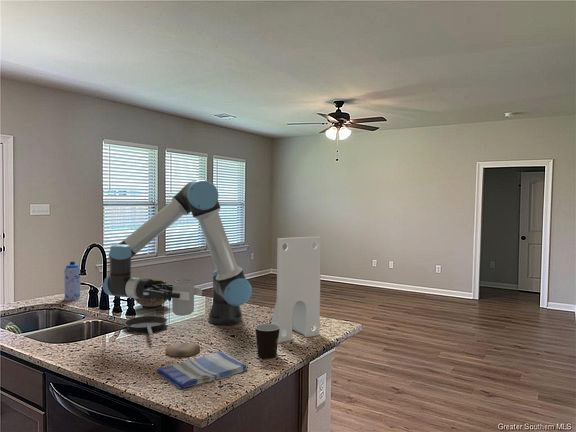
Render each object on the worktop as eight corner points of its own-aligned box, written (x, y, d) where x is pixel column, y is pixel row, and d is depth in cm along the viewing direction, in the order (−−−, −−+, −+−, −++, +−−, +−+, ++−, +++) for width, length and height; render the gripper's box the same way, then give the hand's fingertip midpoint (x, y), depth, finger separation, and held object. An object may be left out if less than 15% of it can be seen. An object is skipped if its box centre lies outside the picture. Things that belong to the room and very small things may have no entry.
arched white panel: (299, 325, 184) (301, 234, 183) (319, 334, 172) (321, 236, 171) (259, 332, 173) (260, 235, 172) (277, 342, 161) (278, 238, 160)
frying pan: (165, 319, 191) (165, 311, 190) (175, 341, 161) (175, 332, 161) (122, 323, 184) (122, 315, 183) (125, 347, 154) (125, 337, 154)
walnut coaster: (199, 344, 158) (199, 341, 158) (201, 355, 147) (201, 352, 147) (165, 346, 155) (165, 343, 155) (165, 358, 144) (165, 355, 144)
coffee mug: (270, 361, 142) (270, 332, 142) (249, 356, 146) (250, 328, 146) (288, 351, 152) (289, 324, 151) (268, 347, 156) (269, 320, 156)
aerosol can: (70, 296, 231) (70, 260, 231) (83, 297, 230) (83, 261, 230) (60, 300, 223) (60, 262, 223) (75, 300, 223) (74, 263, 222)
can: (174, 317, 145) (175, 282, 145) (170, 312, 152) (170, 278, 152) (196, 314, 149) (196, 281, 149) (190, 309, 156) (191, 277, 155)
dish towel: (249, 372, 135) (249, 363, 135) (181, 393, 119) (181, 383, 119) (220, 356, 148) (220, 348, 148) (155, 373, 132) (155, 364, 132)
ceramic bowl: (133, 309, 218) (125, 281, 216) (166, 297, 227) (159, 270, 224) (144, 321, 197) (135, 291, 195) (180, 307, 206) (172, 278, 204)
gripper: (158, 293, 166) (209, 298, 158) (122, 304, 147) (178, 311, 139) (158, 274, 166) (210, 278, 158) (122, 283, 147) (178, 288, 139)
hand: (195, 293), depth 149 cm, fingers closed on can, 7 cm apart
